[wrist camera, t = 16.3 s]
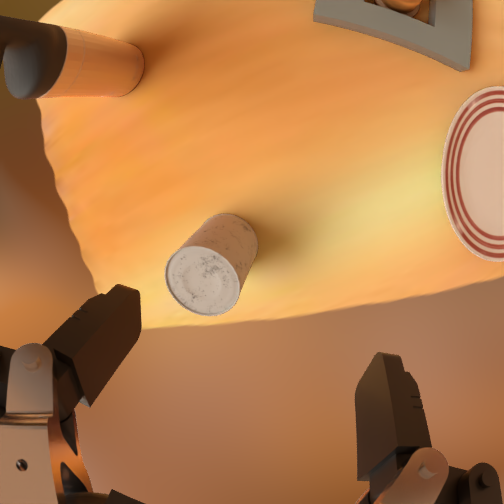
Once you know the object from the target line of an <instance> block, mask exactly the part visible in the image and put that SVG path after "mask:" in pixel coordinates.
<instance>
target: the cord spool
mask: <svg viewBox="0 0 504 504" xmlns="http://www.w3.org/2000/svg"><path fill="white" fill-rule="evenodd" d="M421 1H422V0H374V3H375V5H377V6H380V7H384V8H387V9H390V10H393V11H395V12H398V13H401V14H404V15H406V16H409V17H411V18H412V17H413V16H414V15H415V14H416V13H417V12H418V10H419V8H420V2H421Z"/></svg>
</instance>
